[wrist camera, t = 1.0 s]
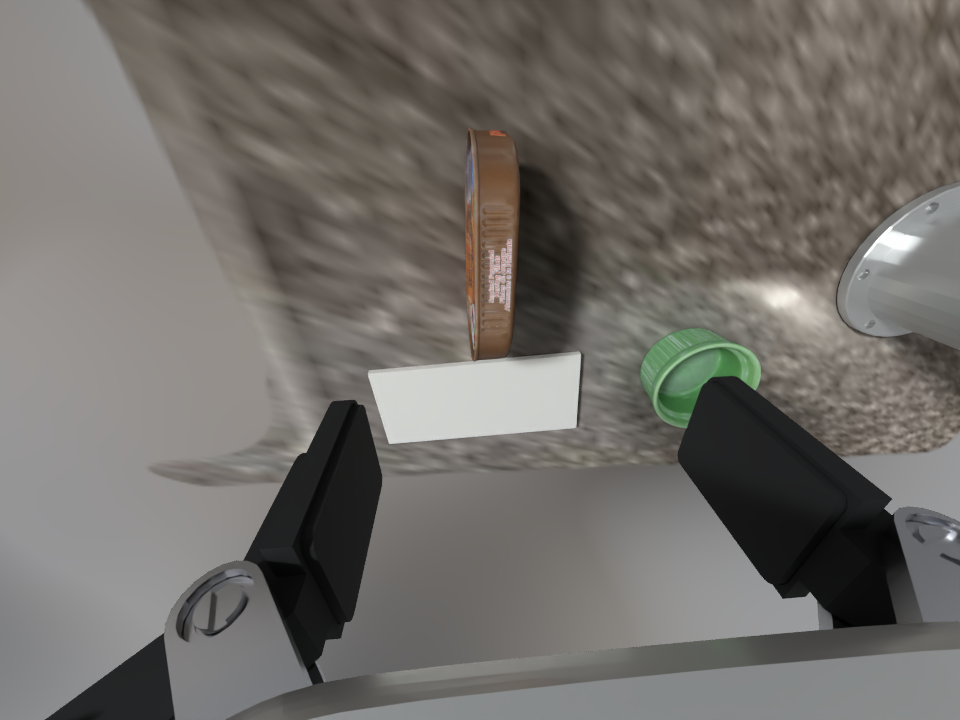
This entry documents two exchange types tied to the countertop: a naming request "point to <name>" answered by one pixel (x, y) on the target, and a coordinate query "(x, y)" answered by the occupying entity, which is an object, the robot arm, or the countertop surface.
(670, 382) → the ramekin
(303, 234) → the countertop surface
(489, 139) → the tin
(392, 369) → the mat
